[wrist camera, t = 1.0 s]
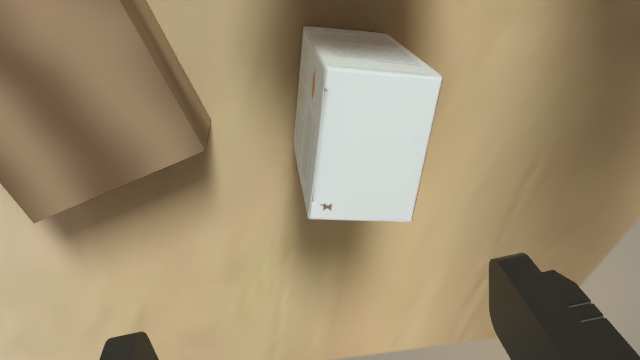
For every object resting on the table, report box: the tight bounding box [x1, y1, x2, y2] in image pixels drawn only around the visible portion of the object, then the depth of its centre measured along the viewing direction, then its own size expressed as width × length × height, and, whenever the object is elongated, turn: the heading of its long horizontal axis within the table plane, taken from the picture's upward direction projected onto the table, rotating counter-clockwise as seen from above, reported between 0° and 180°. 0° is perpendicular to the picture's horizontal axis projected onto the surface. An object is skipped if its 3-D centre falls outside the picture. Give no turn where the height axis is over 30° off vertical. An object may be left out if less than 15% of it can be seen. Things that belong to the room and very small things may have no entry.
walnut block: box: [0, 0, 211, 223], centre depth 28 cm, size 11×11×5 cm
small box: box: [293, 26, 443, 222], centre depth 28 cm, size 8×6×10 cm
